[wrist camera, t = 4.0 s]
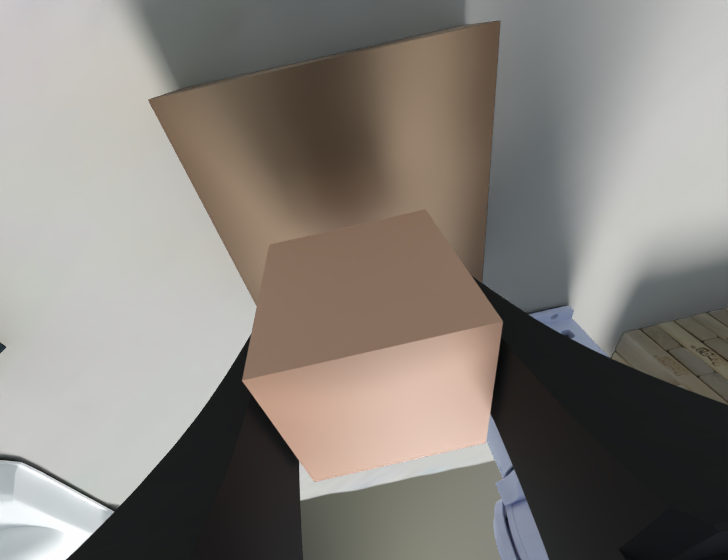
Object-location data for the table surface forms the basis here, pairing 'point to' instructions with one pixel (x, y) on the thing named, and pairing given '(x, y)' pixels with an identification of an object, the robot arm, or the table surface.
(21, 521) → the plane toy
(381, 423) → the cube
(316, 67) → the base block
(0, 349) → the watch
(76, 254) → the table surface
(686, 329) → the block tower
